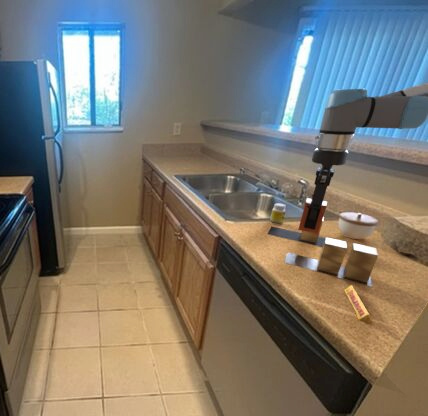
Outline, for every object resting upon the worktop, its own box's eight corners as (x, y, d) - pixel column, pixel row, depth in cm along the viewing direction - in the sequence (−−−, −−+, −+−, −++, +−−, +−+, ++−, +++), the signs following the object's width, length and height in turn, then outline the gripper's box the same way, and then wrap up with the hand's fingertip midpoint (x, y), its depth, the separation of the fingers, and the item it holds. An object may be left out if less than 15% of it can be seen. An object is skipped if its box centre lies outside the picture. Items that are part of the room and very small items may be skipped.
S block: (318, 228, 86) (327, 201, 82) (318, 234, 82) (326, 205, 79) (299, 224, 89) (306, 198, 85) (298, 229, 85) (305, 202, 82)
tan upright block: (337, 267, 85) (346, 241, 82) (337, 274, 82) (347, 248, 79) (317, 262, 88) (325, 237, 85) (317, 269, 85) (325, 243, 81)
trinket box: (345, 228, 111) (352, 206, 108) (378, 239, 102) (386, 216, 99) (327, 232, 108) (334, 210, 105) (359, 245, 99) (368, 221, 95)
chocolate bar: (355, 292, 74) (357, 286, 74) (372, 323, 64) (376, 315, 64) (343, 290, 76) (345, 283, 75) (358, 319, 65) (361, 312, 65)
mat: (325, 238, 104) (325, 238, 103) (324, 248, 97) (324, 247, 97) (271, 226, 114) (271, 226, 114) (267, 234, 108) (267, 234, 107)
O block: (317, 238, 103) (323, 216, 100) (316, 243, 100) (323, 220, 97) (301, 234, 106) (307, 213, 103) (299, 239, 103) (305, 217, 99)
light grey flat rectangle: (369, 274, 82) (369, 273, 82) (372, 287, 76) (372, 286, 76) (287, 252, 94) (287, 252, 94) (284, 263, 89) (284, 262, 89)
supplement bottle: (282, 226, 114) (287, 207, 111) (269, 224, 117) (273, 205, 114) (282, 222, 118) (286, 203, 115) (269, 220, 121) (273, 202, 117)
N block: (365, 274, 82) (376, 248, 78) (367, 282, 78) (378, 255, 75) (344, 268, 84) (353, 243, 81) (344, 276, 81) (353, 249, 78)
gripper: (316, 144, 85) (298, 213, 93) (312, 152, 72) (292, 232, 80) (348, 146, 81) (325, 218, 89) (350, 155, 68) (324, 239, 76)
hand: (309, 224), depth 85 cm, fingers closed on S block, 5 cm apart
